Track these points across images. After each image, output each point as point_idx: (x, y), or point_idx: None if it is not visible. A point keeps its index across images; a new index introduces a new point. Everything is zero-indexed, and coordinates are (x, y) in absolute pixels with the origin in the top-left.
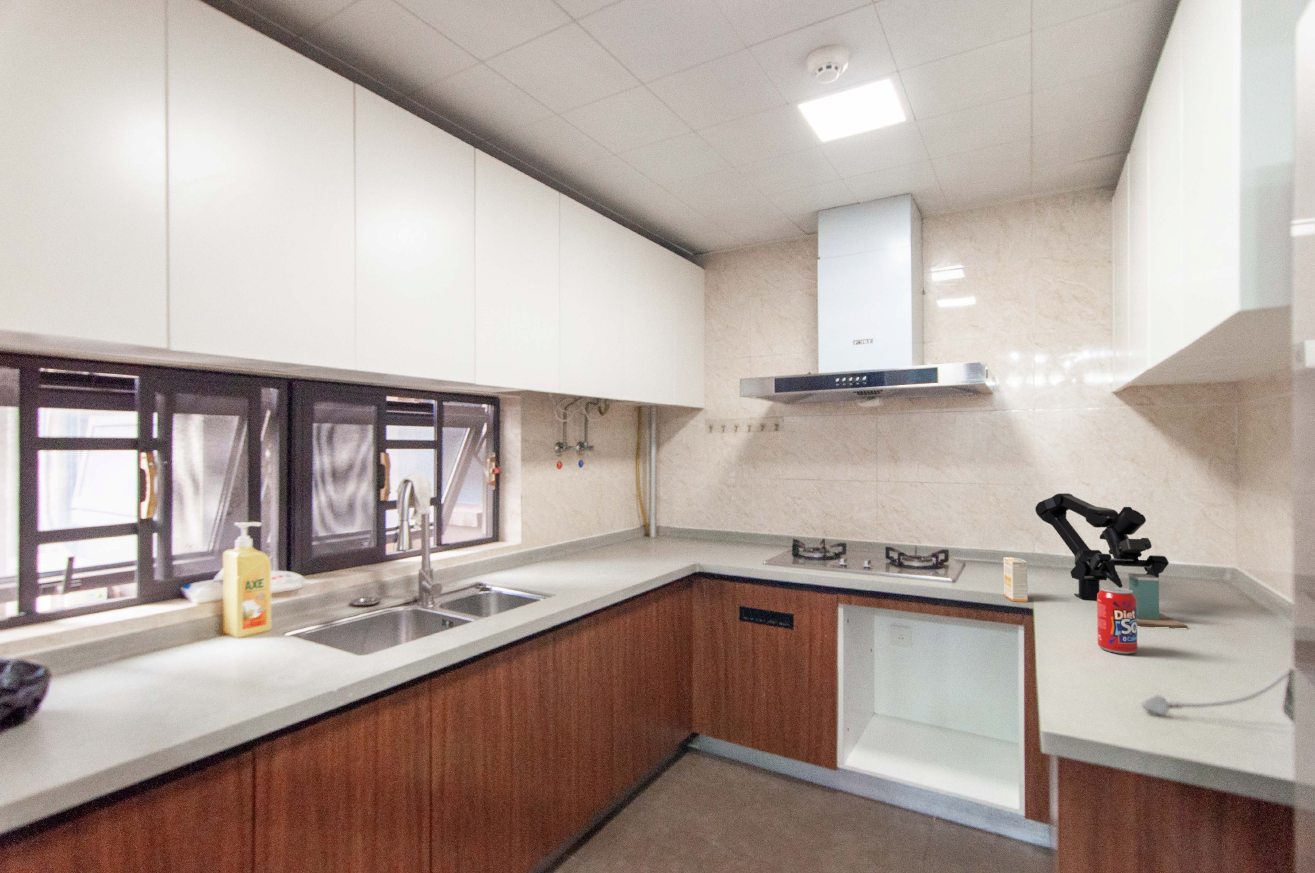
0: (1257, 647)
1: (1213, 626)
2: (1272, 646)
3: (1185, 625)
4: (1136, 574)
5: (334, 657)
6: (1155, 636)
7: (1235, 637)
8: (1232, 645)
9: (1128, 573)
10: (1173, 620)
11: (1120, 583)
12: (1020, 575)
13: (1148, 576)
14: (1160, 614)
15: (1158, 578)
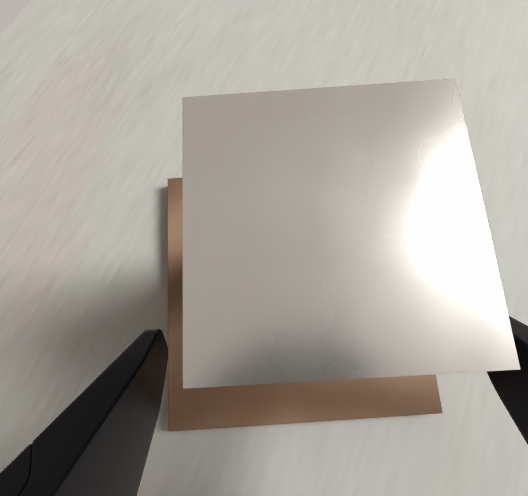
0: (77, 12)
1: (35, 257)
2: (18, 35)
3: (173, 181)
4: (408, 296)
5: None
6: (349, 47)
7: (64, 109)
8: (143, 12)
9: (518, 362)
10: (178, 259)
11: (513, 324)
12: None
13: (286, 164)
14: (177, 376)
15: (195, 101)
